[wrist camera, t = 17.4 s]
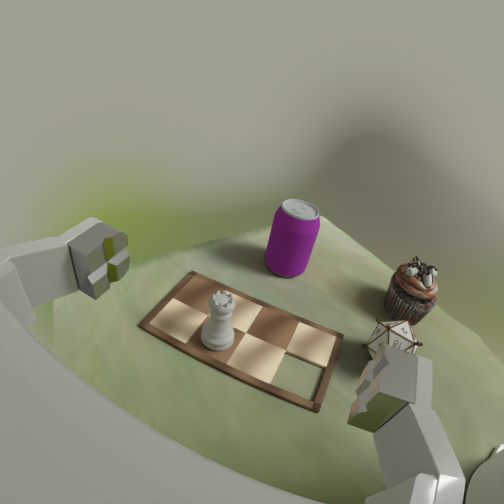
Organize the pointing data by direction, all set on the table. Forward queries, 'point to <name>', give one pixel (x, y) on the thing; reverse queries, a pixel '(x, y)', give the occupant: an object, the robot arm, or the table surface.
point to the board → (244, 336)
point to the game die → (393, 336)
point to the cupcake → (411, 291)
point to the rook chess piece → (219, 322)
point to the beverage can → (292, 237)
